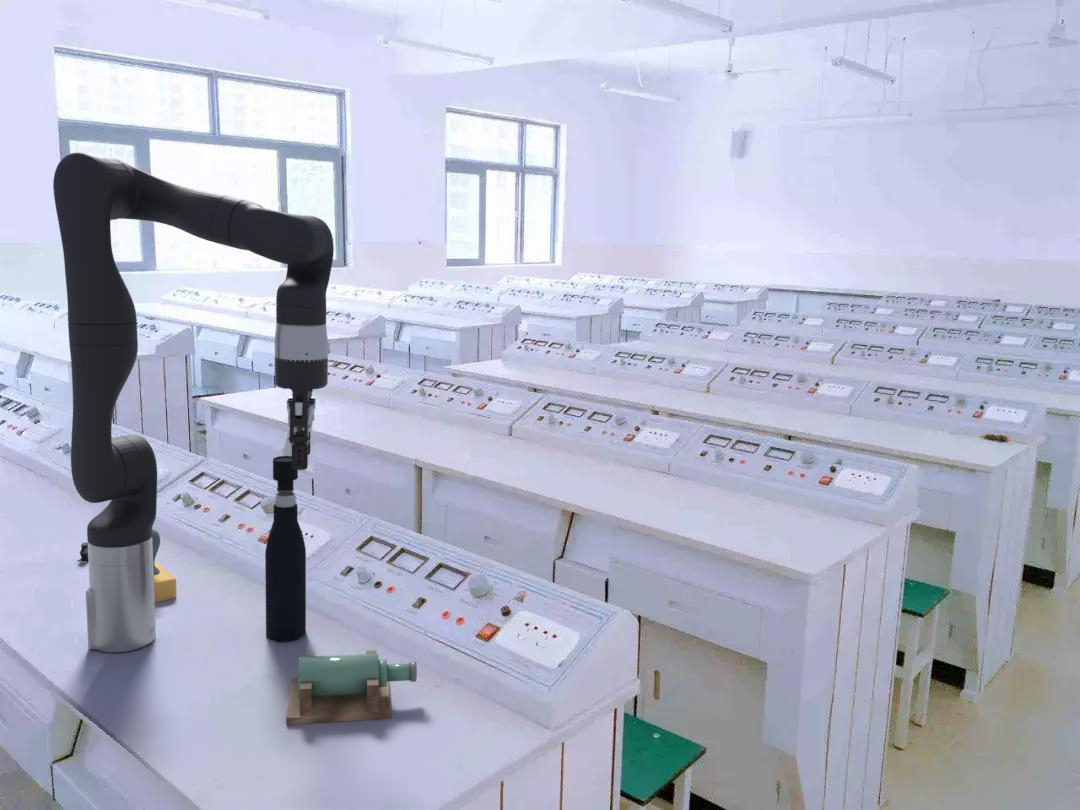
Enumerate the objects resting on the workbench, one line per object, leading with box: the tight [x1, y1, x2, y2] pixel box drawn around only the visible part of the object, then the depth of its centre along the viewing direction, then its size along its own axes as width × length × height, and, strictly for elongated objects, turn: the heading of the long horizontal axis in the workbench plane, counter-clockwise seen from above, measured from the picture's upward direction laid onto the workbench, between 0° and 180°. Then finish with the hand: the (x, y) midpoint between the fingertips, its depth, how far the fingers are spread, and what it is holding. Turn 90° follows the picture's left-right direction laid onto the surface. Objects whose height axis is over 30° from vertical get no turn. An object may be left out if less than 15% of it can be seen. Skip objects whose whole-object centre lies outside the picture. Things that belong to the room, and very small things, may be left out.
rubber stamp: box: [152, 528, 178, 603], centre depth 162 cm, size 10×6×12 cm, turn 41°
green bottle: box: [297, 653, 418, 698], centre depth 128 cm, size 16×6×6 cm, turn 101°
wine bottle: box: [264, 455, 307, 643], centre depth 146 cm, size 6×6×30 cm
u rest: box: [285, 649, 392, 726], centre depth 128 cm, size 14×11×5 cm
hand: (301, 461), depth 134 cm, fingers open, 8 cm apart
